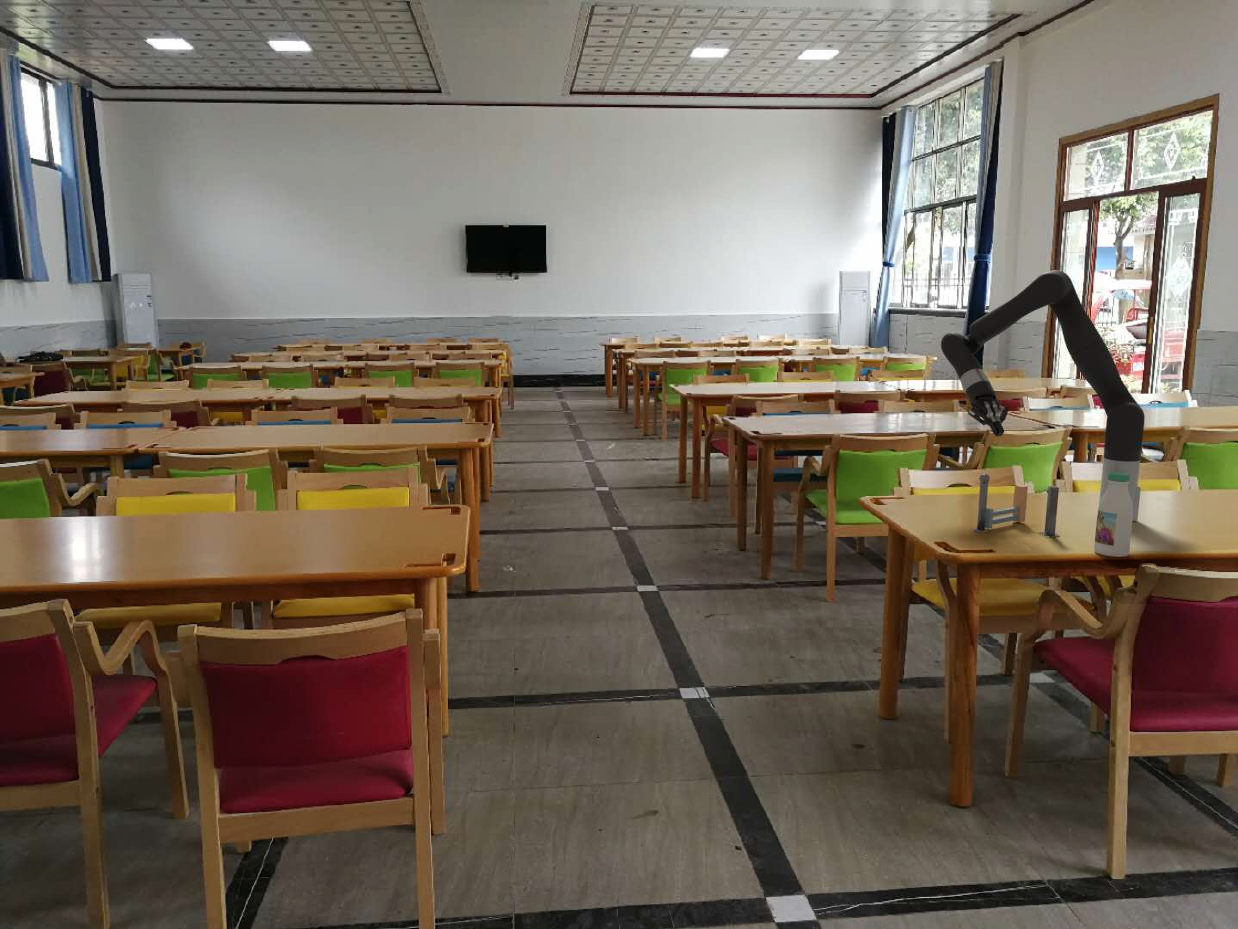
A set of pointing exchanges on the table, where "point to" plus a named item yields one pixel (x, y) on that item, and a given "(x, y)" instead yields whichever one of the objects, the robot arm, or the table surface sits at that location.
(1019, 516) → the gate
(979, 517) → the hinge post
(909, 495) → the table surface
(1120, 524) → the milk bottle
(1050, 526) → the post
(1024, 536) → the table surface
